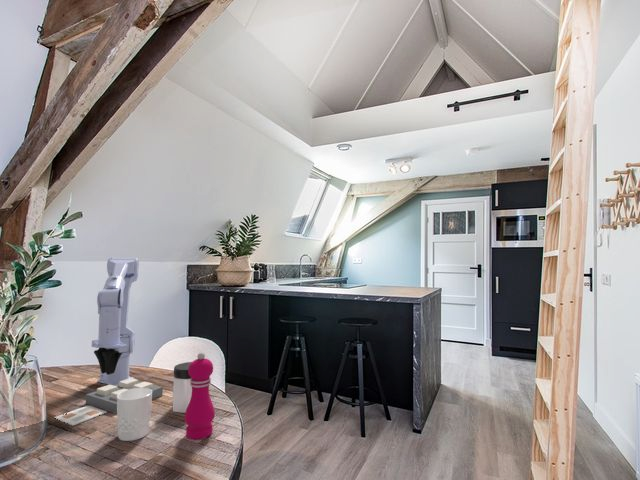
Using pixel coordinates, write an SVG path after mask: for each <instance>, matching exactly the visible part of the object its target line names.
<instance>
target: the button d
mask: <svg viewBox="0 0 640 480" xmlns="http://www.w3.org/2000/svg"><path fill="white" fill-rule="evenodd" d="M141 382H142V383H139V384H136V385H133V389H135V388H148V389H153V385H154V383H152V382H148V381H141Z"/></svg>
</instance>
